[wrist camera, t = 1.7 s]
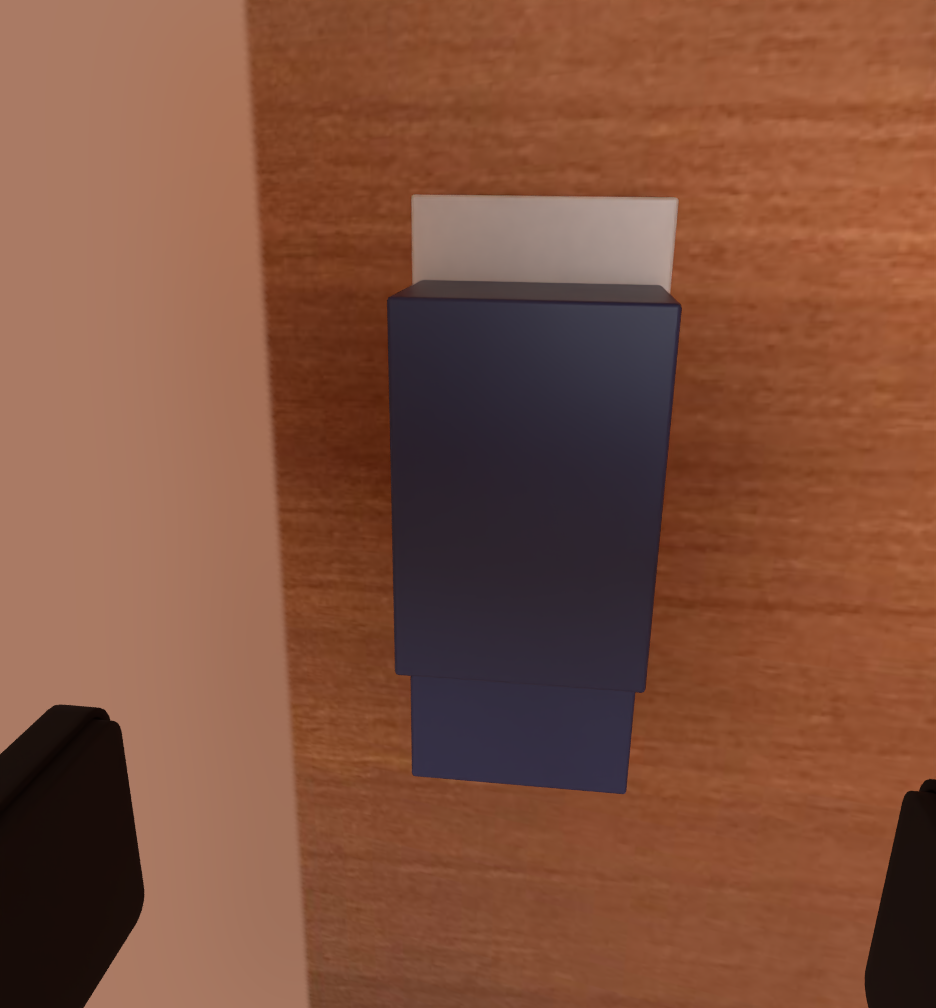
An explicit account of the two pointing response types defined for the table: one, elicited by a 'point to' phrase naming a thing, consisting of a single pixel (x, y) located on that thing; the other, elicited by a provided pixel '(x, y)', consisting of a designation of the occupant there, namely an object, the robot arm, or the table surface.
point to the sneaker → (530, 479)
